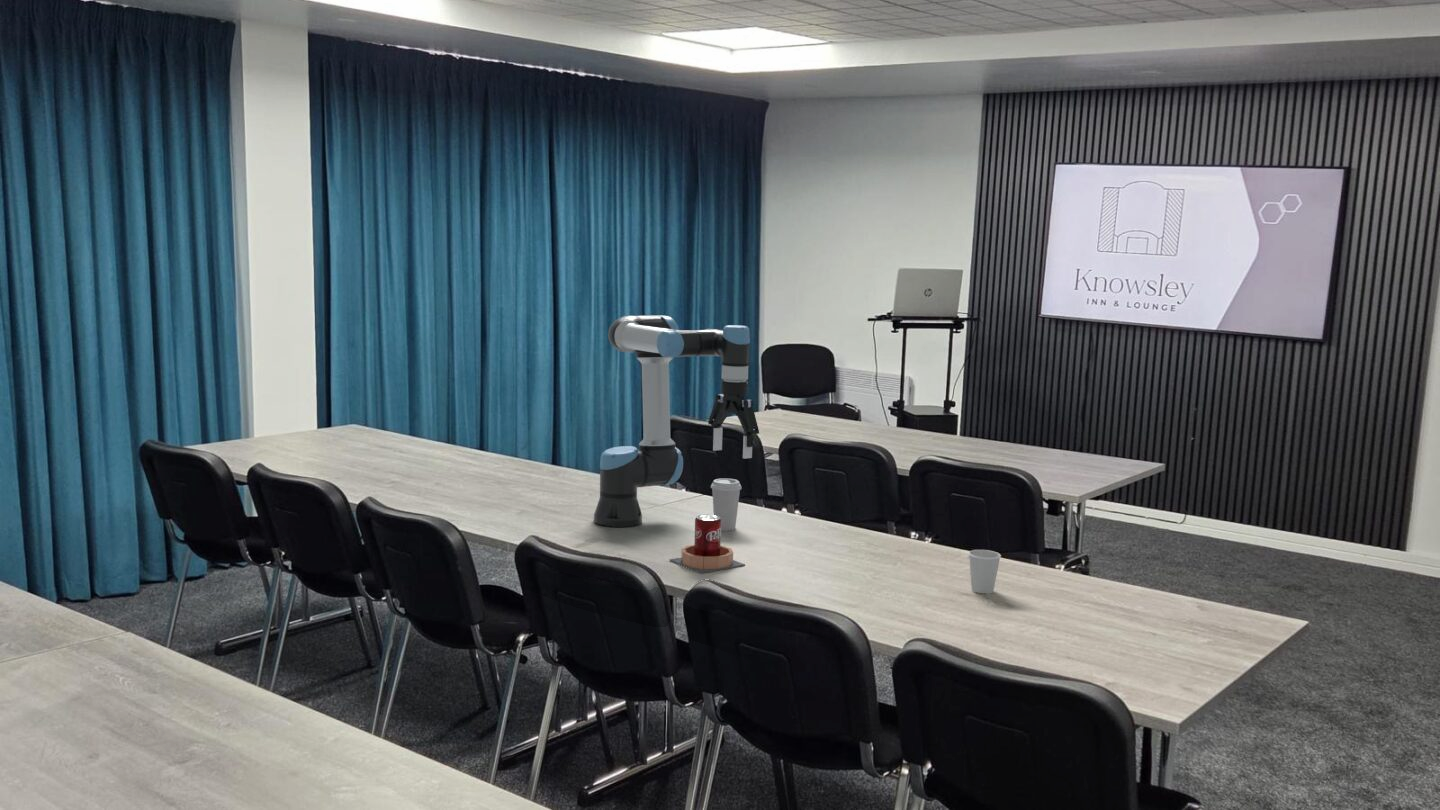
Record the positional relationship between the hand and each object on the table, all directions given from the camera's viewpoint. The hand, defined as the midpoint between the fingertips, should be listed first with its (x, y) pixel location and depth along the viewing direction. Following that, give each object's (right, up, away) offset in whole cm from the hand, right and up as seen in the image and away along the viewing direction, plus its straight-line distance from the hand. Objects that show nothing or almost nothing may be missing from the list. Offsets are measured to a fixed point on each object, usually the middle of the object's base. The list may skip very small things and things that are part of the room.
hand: (732, 454), depth 339 cm
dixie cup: (+65, -35, -27) cm, 79 cm away
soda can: (-7, -29, -10) cm, 31 cm away
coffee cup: (-2, -25, +31) cm, 39 cm away
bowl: (-7, -30, -10) cm, 32 cm away
